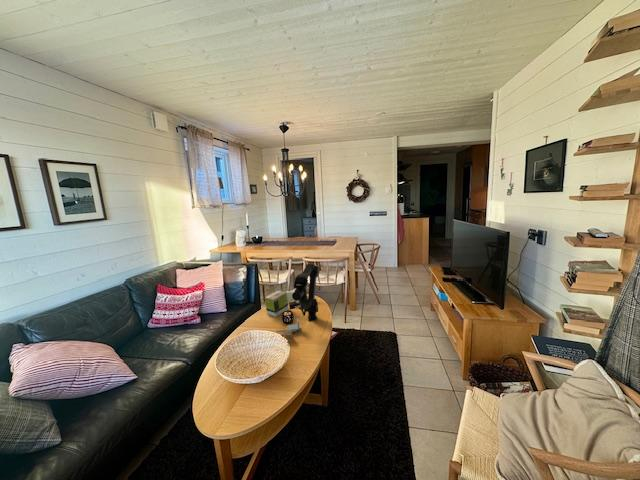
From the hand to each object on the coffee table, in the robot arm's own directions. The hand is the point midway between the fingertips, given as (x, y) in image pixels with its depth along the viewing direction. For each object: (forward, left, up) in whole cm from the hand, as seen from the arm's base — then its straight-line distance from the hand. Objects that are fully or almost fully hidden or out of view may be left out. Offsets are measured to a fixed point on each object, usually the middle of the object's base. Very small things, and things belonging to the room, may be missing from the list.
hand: (304, 315), depth 173 cm
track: (0, -13, -10) cm, 17 cm away
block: (+9, -12, -11) cm, 18 cm away
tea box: (-31, -18, -11) cm, 38 cm away
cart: (0, -8, -10) cm, 13 cm away
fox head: (-43, 0, -11) cm, 45 cm away
